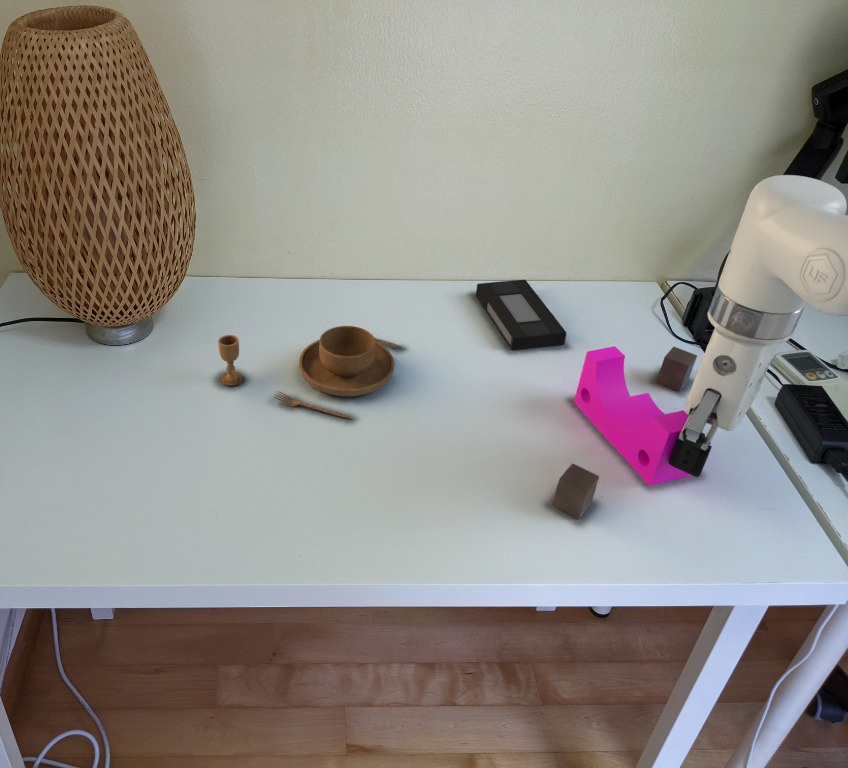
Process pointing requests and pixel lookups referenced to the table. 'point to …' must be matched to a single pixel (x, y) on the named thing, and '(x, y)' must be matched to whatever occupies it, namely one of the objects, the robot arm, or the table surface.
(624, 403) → the toy block
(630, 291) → the table surface
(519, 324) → the vhs tape
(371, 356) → the place setting
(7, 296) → the table surface
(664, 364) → the brown cubes
